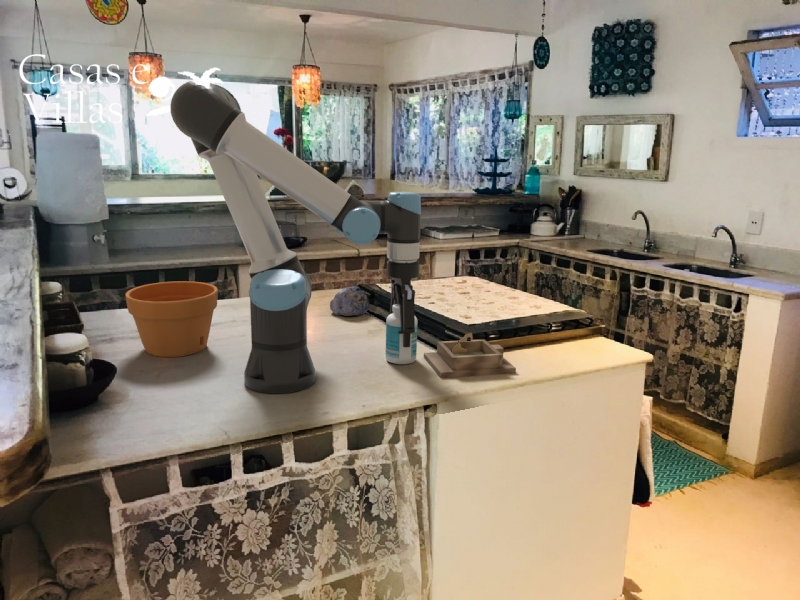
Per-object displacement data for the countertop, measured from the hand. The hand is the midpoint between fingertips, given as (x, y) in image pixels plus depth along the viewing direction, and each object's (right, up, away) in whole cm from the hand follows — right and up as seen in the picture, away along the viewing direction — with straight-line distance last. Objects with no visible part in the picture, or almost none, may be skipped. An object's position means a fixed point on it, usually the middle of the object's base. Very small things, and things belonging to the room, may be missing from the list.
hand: (401, 353), depth 155 cm
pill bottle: (0, -2, 0) cm, 2 cm away
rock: (-16, +9, +42) cm, 45 cm away
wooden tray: (+16, -3, -2) cm, 16 cm away
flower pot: (-56, +1, +5) cm, 56 cm away
